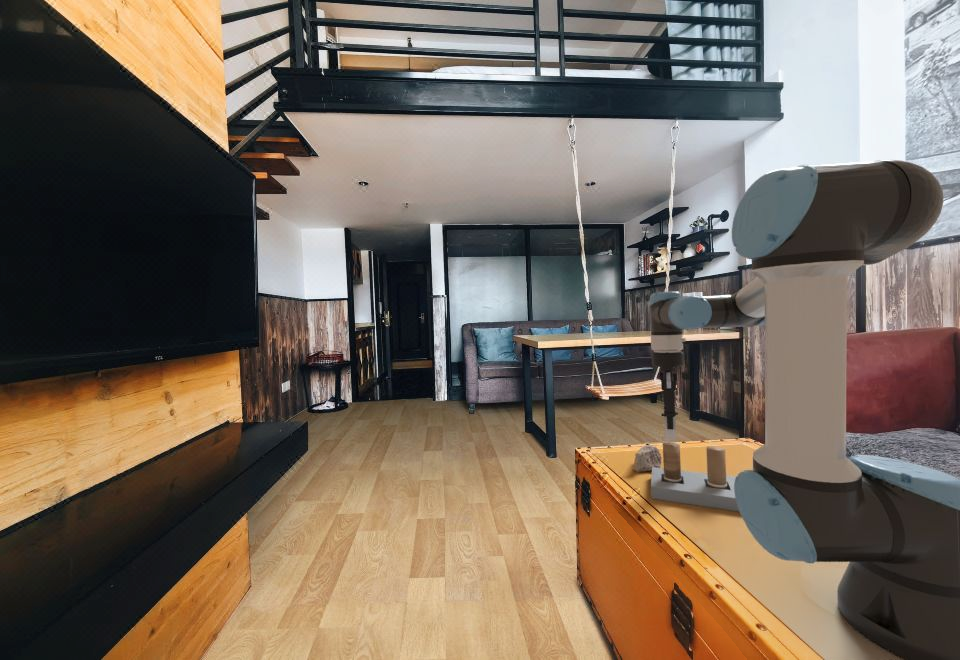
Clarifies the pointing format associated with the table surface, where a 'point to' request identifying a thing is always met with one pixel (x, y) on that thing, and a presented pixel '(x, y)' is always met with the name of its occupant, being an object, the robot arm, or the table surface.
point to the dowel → (672, 463)
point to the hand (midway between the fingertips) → (670, 440)
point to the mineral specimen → (647, 459)
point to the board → (699, 484)
